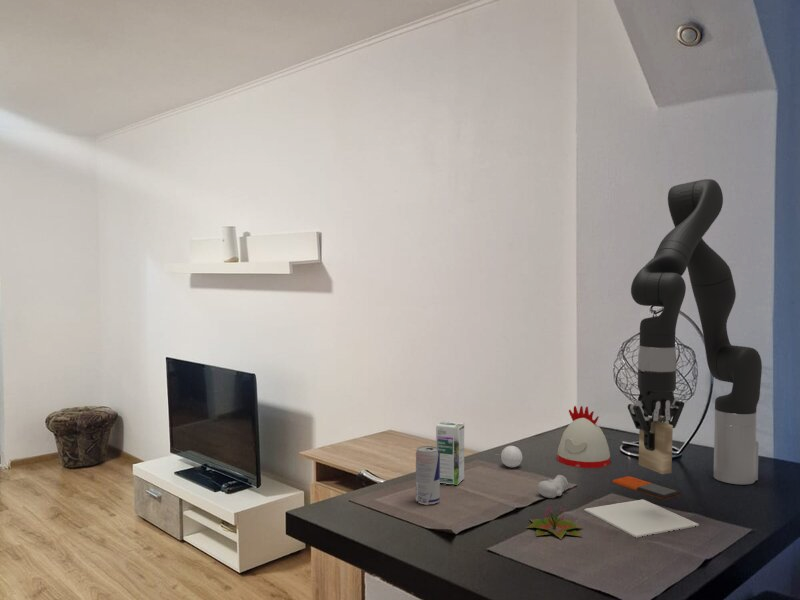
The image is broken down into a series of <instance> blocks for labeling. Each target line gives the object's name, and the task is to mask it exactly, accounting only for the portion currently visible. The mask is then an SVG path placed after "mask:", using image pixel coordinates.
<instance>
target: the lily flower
mask: <svg viewBox="0 0 800 600" xmlns="http://www.w3.org/2000/svg"><path fill="white" fill-rule="evenodd" d="M561 508H562V506H560V507H559V509H558V510H557V512H556V514H555V515H554V513H553V511H552V510H551V508H550V507H548V506H547V508H546V510H547V511H545V514H543V516H544V518H543V519H540V518H536V519H535V518H534V519H531V518H529V520H530V521H531V522H532V523H531V524H529V525H528V526H526V527H525V528H526V529H530V528H532V529H533V528H536V530H535V534H536V535H535V536H536V537H538V536H539V537H540V536H544V535H545V536H546V535H555V537H558V538H559V539H560V540H562V538H563V537H564V536H565V535H568V536H569V535H570V536H575V537H581V538H582V537H583V536H582V535H581V534H580V532H579V531H578V530H576V529H582V530H583V529H585V528H583V527H581V526H580V525H577V524H575V523H574V522H573V519H570V520H569V519H564V518H565V515H563V516H561V514H564V513H565V511H567V509H566V508H565V509H563V510H562V511H561V512H560V509H561ZM554 509H555V508H554V506H553V510H554ZM548 512H549V514H550V516H549V514H548ZM559 512H560V513H559ZM559 516H561V517H560V518H559ZM549 528H552V530H551V529H549ZM557 528H559V530H557V531H556V529H557ZM546 531H548V532H546ZM567 532H568V533H567Z"/></svg>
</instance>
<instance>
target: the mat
mask: <svg viewBox="0 0 800 600" xmlns="http://www.w3.org/2000/svg"><path fill="white" fill-rule="evenodd" d="M583 510H584V512H586V513H588V514H590V515H592V516H593V517H595V518H598V519H599V520H601V521H602V522H603V521H604V522H605V523H607V524H609V525H610V526H613V527H615V528H617V529H619V530H620V531H622V532H624V533H626V534H628V535H630V536H632V537H633V538H635V537H636V539H637V538H642V536H643V537H647V535H648V536H652V534H654V535H657V534H664V533H669V532H668V531H670V532H674V531H673V530H675V531H680V530H685V529H690V528H695V526H696V527H699V526H700V524H699V523H698V522H695V521H693V520H691V519H688V518H686V517H684V516H681V515H679V514H677V513H675V512H673V511H670V510H668V509H666V508H663V507H661V506H659V505H657V504H654V503H652V502H650V501H648V500H645V499H638V500H636V499H635V500H632V501H631V500H629V501H626V502H624V501H623V502H619V503H617V502H616V503H612V504H607V505H606V504H605V505H600V506H594V507H593V506H592V507H588V508H584V509H583ZM679 529H680V530H679Z"/></svg>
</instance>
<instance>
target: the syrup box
mask: <svg viewBox="0 0 800 600" xmlns="http://www.w3.org/2000/svg"><path fill="white" fill-rule="evenodd" d="M435 428H436V429H435V447H437V448H439V452H440V483H446V484H454V485H458V484H459V483H460V482H461V481H462V480H463V479H464V480H465V422H454V421H443V420H442V421H440V422H439V423H438V424H436V427H435ZM464 480H463V481H464ZM463 481H462V482H463ZM462 482H461V483H462ZM461 483H460V484H461ZM446 484H445V485H446ZM460 484H459V485H460ZM454 485H453V486H454ZM459 485H458V486H459Z"/></svg>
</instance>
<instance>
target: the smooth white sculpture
mask: <svg viewBox="0 0 800 600" xmlns="http://www.w3.org/2000/svg"><path fill="white" fill-rule="evenodd" d="M568 482H569V481H568V480H567V478H566V477H565V476H564V475H561V474H558V475H556V476H555V477H554V479H552V478H550V479H548V480H542V481H540V482H539V483H538V484H537V490H538V493H539V494H540V495H541V496H543V497H545V498H547V499H554V498H556V497H557V496H559V497H560V496H562V494H563V493H564V492H565V491H566V490H568V487H569V486H568V485H569V483H568Z"/></svg>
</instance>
